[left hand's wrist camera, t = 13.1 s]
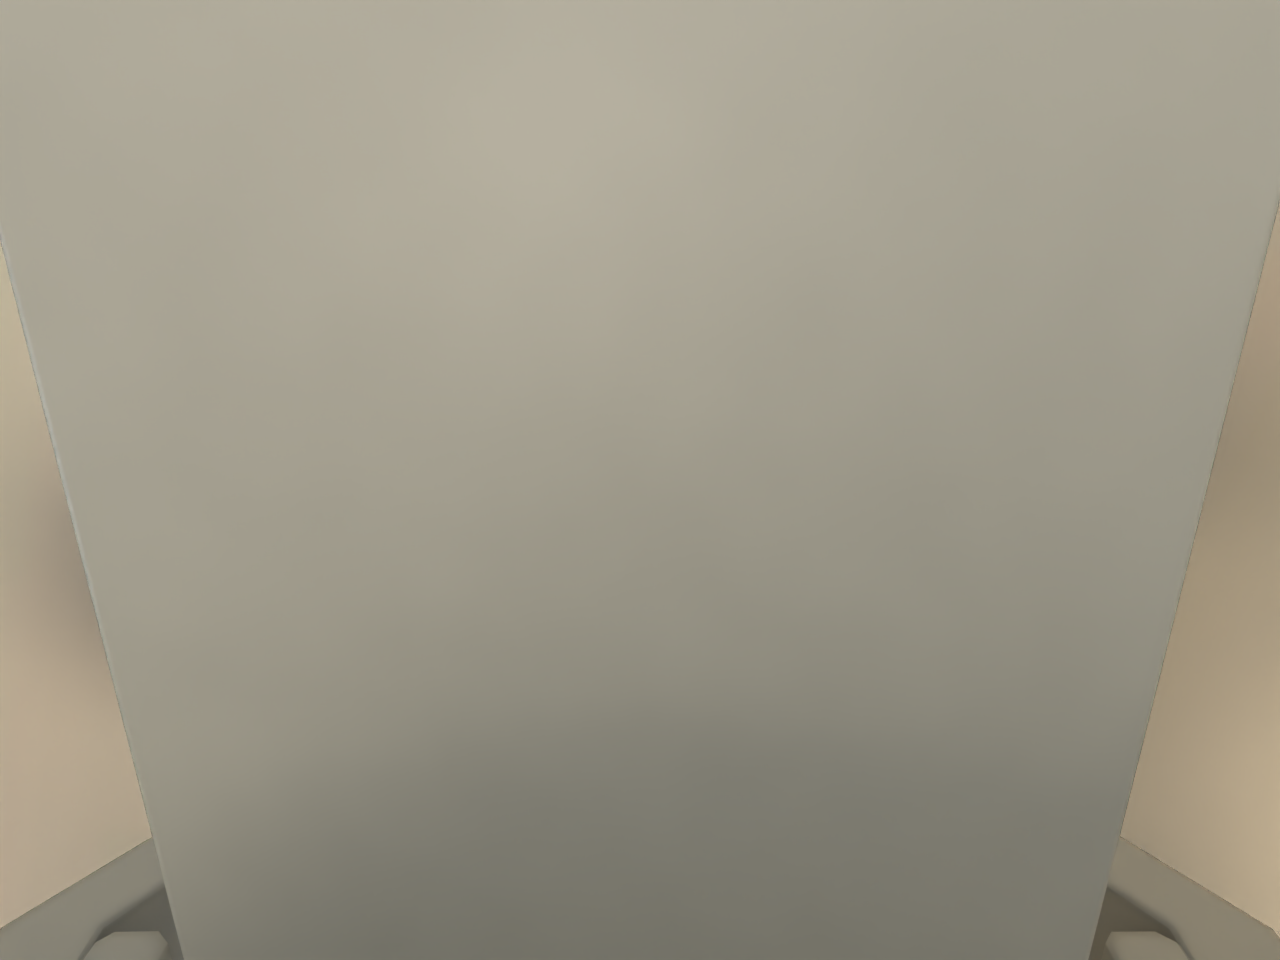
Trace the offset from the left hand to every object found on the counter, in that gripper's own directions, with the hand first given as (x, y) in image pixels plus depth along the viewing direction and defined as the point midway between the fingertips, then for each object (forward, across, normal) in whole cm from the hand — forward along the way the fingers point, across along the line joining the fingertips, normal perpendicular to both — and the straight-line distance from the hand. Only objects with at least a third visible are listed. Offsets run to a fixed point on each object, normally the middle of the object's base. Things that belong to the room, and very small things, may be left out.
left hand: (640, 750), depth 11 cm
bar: (+3, 0, +10) cm, 10 cm away
